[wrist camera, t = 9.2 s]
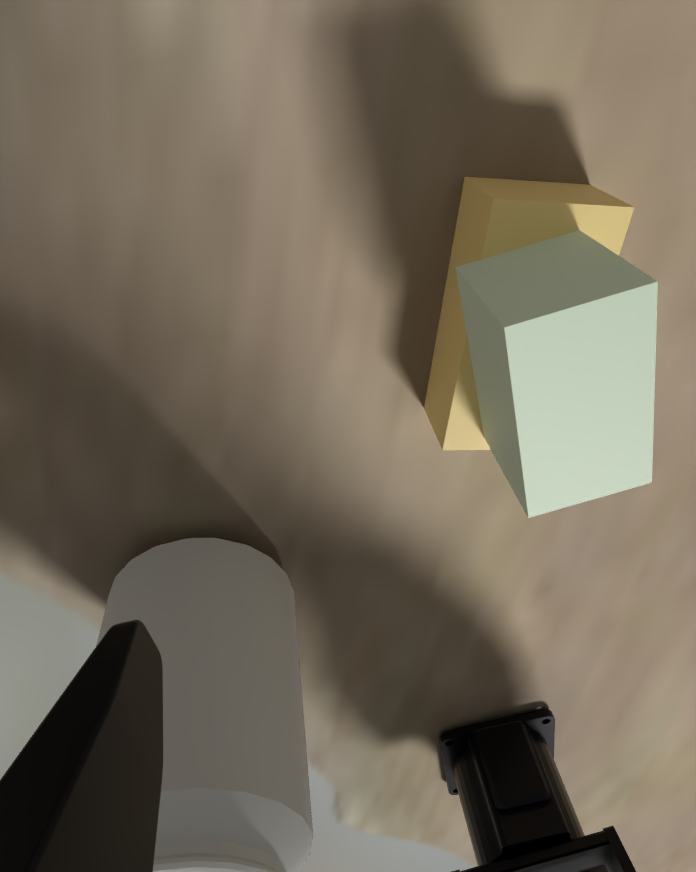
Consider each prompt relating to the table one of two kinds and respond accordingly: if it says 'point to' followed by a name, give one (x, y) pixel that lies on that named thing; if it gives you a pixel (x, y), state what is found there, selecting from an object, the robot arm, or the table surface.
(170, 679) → the can
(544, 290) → the sage brick
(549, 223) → the ochre brick
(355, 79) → the table surface
